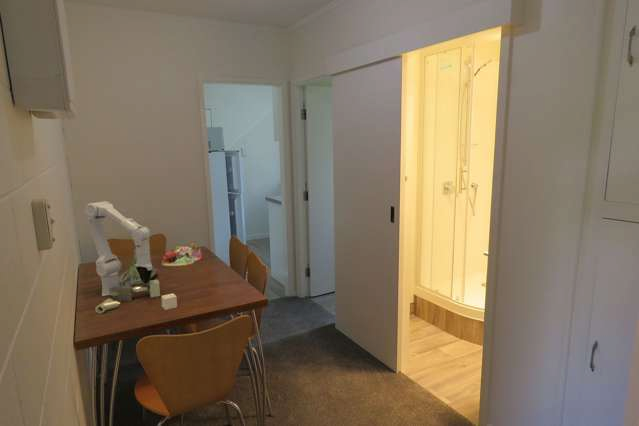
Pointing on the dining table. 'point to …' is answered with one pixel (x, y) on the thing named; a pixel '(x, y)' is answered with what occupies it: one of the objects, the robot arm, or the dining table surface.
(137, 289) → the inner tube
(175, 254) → the toy food platter
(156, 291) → the socket block
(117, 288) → the grey boxy piece
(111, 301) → the pipe fitting
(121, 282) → the tree stump
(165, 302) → the cream white cube
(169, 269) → the dining table surface
